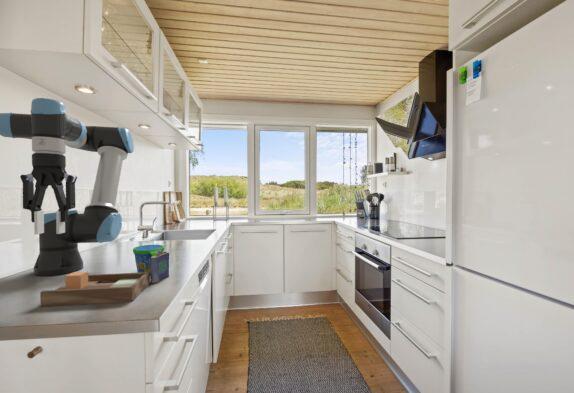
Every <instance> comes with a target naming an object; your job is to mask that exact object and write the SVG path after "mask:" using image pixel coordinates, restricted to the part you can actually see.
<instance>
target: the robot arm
mask: <svg viewBox="0 0 574 393" xmlns="http://www.w3.org/2000/svg"><path fill="white" fill-rule="evenodd" d="M30 107H31V108H30V114H29V113H14V112H0V136H1V137H3V138H12V139H27V140H31V151H32V152H33V153H31V166H32V170H31V173H27V174H21V175H20V176H19V177H20V179H21V182H22V208H23V210H28V211H30V212H31V215H30V216H31V217H30V218H31V222H32V223H34V224H33V226H34V235H38V241H39V242H38V245H39V246H38V247H39V249H38V250H39V253H38V256H37V257H36V261H35V263H34V266H33V269H32V270H33V275H34V276H38V277H39V276H40V277H49V276H59V275H64V274H71V273H73V272H79V271H80V270H82V269H84V260H83V258H82V256H81V252H80V251H79V244H88V243H89V244H90V243H99V244H104V243H108V242H109V243H111V242H114V241H115V240H116V239H117V238H118V237H119V235H120V233H121V231H122V227H123V224H122V221H123V217H122V215H121V214H120V213H119V210H118V208H116V201H117V195H118V189H119V185H120V184H119V183H120V179H121V178H120V177H121V172H122V167H123V161H124V160H126V159H127V158H128V154H132V153H133V152H134V147H135V144H134V139H133V135H132V133H131V131H130V130H129V129H128V128H127V127H120V126H117V127H115V126H101V125H100V126H99V125H98V126H96V125H85V124H84V123H83V122H82V121H80V120H79V119H77V118H74V117H72V116H70V115H67V114H66V107H65V104H64V103H63V102H61V101H59V100H56V99H52V98H48V97H47V98H44V97H35V98H34V99H32V101H31V105H30ZM66 146H67V147H69V148H72V149H76V150H82V151H85V152H91V153H92V152H93V153H97V154H98V155H99V161H98V162H99V163H98V166H97V171H96V176H95V181H94V185H93V190H92V195H91V198H90V199H91V200H90V203H89V204H87V205H86V206H85V207H84V211H83V213H79V211H78V210H77V209H76V182H77V179H78V176H77V175H74V174H73V175H72V174H68V172H67V170H66V167H67V164H66V163H67V162H66V158H67V157H66V155H64V154H67V153H66V150H67V148H66ZM34 181H36V182H35V184H34ZM64 181H65V190H64V183H63V182H64ZM49 186H50V187H51V189H52V190H53V194H54V197H55V200H56V203H57V206H58V209H57V210H56V212H48V213H47V212H46V213H44V212H45V211H44V210H43V208H42V206H43V202H44V198H45V195H46V191H47V189H48V188H49ZM34 188H35V189H34ZM72 209H73V210H72Z"/></svg>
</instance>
